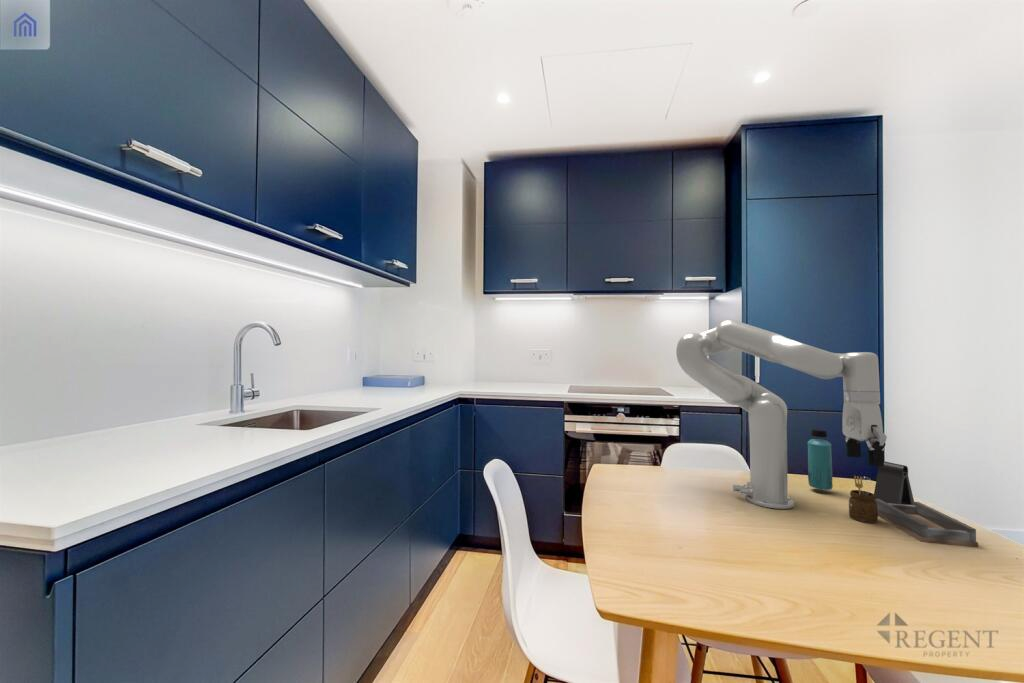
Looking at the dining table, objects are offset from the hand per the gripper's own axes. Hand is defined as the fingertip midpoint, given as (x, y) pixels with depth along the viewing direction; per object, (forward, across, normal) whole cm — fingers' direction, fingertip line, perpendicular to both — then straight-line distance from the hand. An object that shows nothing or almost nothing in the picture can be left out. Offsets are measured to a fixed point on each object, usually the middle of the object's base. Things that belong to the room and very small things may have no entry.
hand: (864, 461), depth 110 cm
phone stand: (+16, -16, +15) cm, 27 cm away
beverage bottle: (+16, -23, -1) cm, 28 cm away
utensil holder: (+16, 0, -1) cm, 16 cm away
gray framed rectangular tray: (+16, +3, +10) cm, 19 cm away
